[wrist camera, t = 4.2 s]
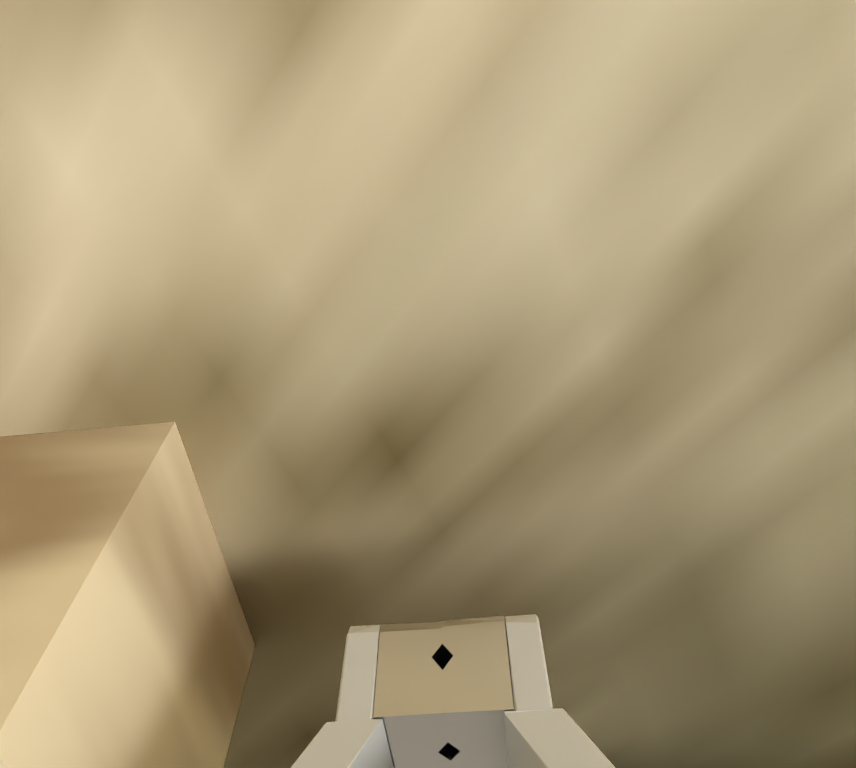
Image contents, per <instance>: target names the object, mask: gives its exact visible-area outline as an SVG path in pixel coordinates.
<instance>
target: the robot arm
mask: <svg viewBox="0 0 856 768" xmlns="http://www.w3.org/2000/svg"><path fill="white" fill-rule="evenodd" d="M291 768H615V766H614V765H613V764H612V763H611V762H610V761H609V760H608V759H607V757H606V756H605V755H604V754H603V753H602V752H601V751H600V750H599V748H598V747H597V746H596V745H595V744H594V743H593V742H592V740H591V739H590V738H589V737H588V736H587V735H586V734H585V733H584V731H583V730H582V729H581V728H580V727H579V726H578V725H577V724H576V722H575V721H574V720H573V719H572V718H571V717H570V716H569V715H568V713H567V712H566V711H565V710H564V709H563V708H553V704H552V698H551V692H550V686H549V680H548V674H547V667H546V661H545V655H544V649H543V643H542V636H541V630H540V624H539V619H538V617H537V615H536V614H531V615H516V616H505V619H504V616H494V617H481V618H469V619H457V620H445V621H443V622H426V623H402V624H381V625H362V626H350V628H349V631H348V633H347V636H346V644H345V652H344V659H343V667H342V675H341V682H340V690H339V698H338V705H337V713H336V721H333V722H326V723H325V724H324V725H323V727H322V728H321V729H320V731H319V732H318V733H317V734H316V736H315V737H314V738H313V739H312V741H311V742H310V743H309V745H308V746H307V747H306V748H305V750H304V751H303V752H302V754H301V755H300V756H299V757H298V759H297V760H296V761H295V762H294V764H293V765H292V766H291Z"/></svg>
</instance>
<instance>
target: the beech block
mask: <svg viewBox="0 0 856 768" xmlns="http://www.w3.org/2000/svg"><path fill="white" fill-rule="evenodd" d="M254 649H255V644H254V641H253V639H252V636H251V633H250V630H249V627H248V625H247V622H246V619H245V616H244V613H243V611H242V608H241V605H240V602H239V599H238V597H237V594H236V591H235V588H234V585H233V583H232V580H231V577H230V574H229V571H228V569H227V566H226V563H225V560H224V557H223V555H222V552H221V549H220V546H219V543H218V541H217V538H216V535H215V532H214V530H213V527H212V524H211V521H210V518H209V516H208V513H207V510H206V507H205V504H204V502H203V499H202V496H201V493H200V490H199V488H198V485H197V482H196V479H195V476H194V474H193V471H192V468H191V465H190V462H189V460H188V457H187V454H186V451H185V448H184V446H183V443H182V440H181V437H180V434H179V432H178V429H177V426H176V423H175V422H166V423H154V424H143V425H131V426H120V427H108V428H96V429H85V430H73V431H62V432H50V433H39V434H27V435H15V436H4V437H0V768H223V766H224V763H225V759H226V755H227V751H228V748H229V744H230V740H231V736H232V732H233V729H234V725H235V721H236V717H237V713H238V710H239V706H240V702H241V698H242V694H243V691H244V687H245V683H246V679H247V675H248V672H249V668H250V664H251V660H252V656H253V653H254Z"/></svg>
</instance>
